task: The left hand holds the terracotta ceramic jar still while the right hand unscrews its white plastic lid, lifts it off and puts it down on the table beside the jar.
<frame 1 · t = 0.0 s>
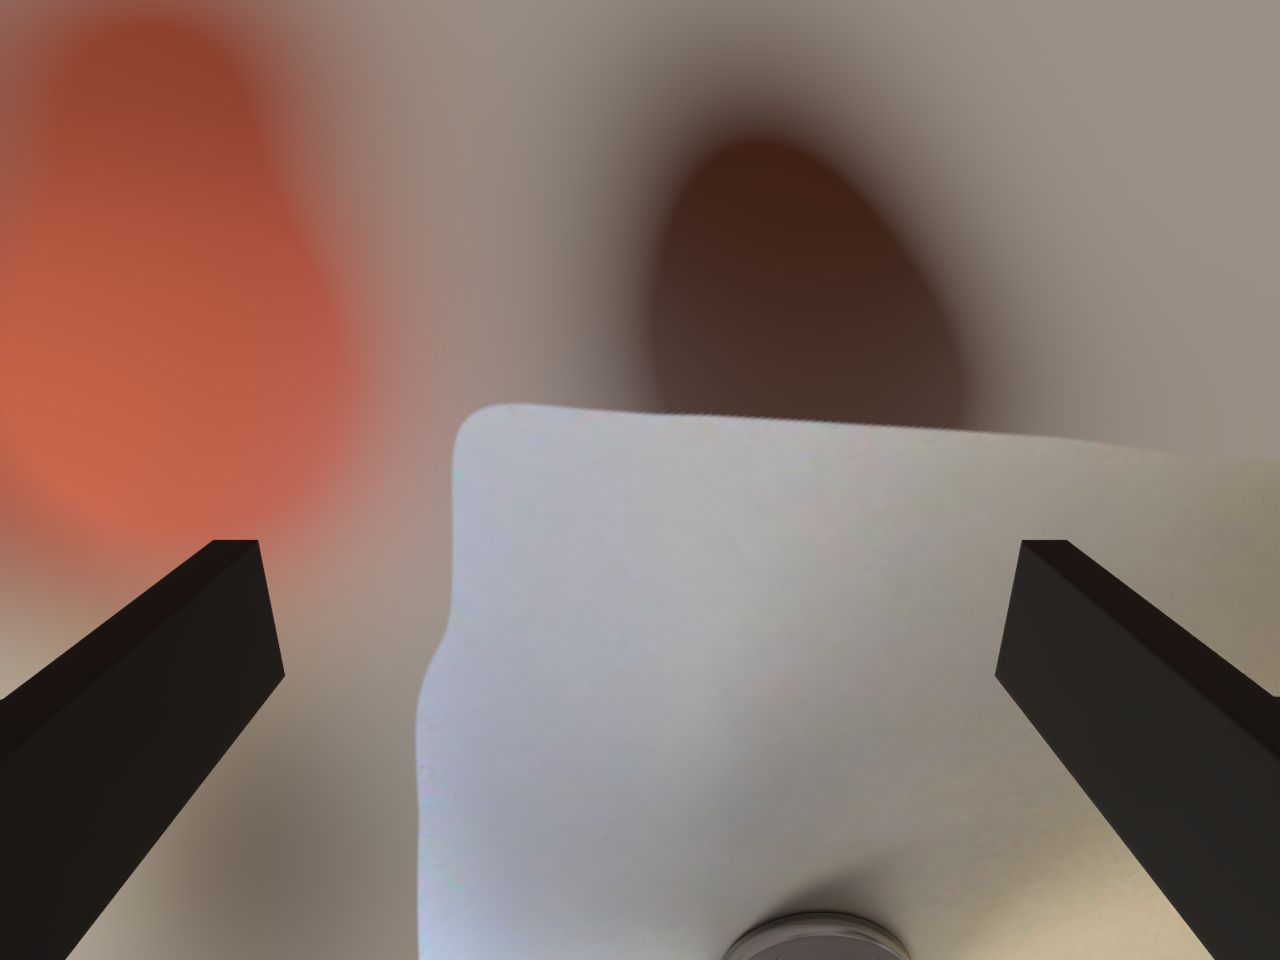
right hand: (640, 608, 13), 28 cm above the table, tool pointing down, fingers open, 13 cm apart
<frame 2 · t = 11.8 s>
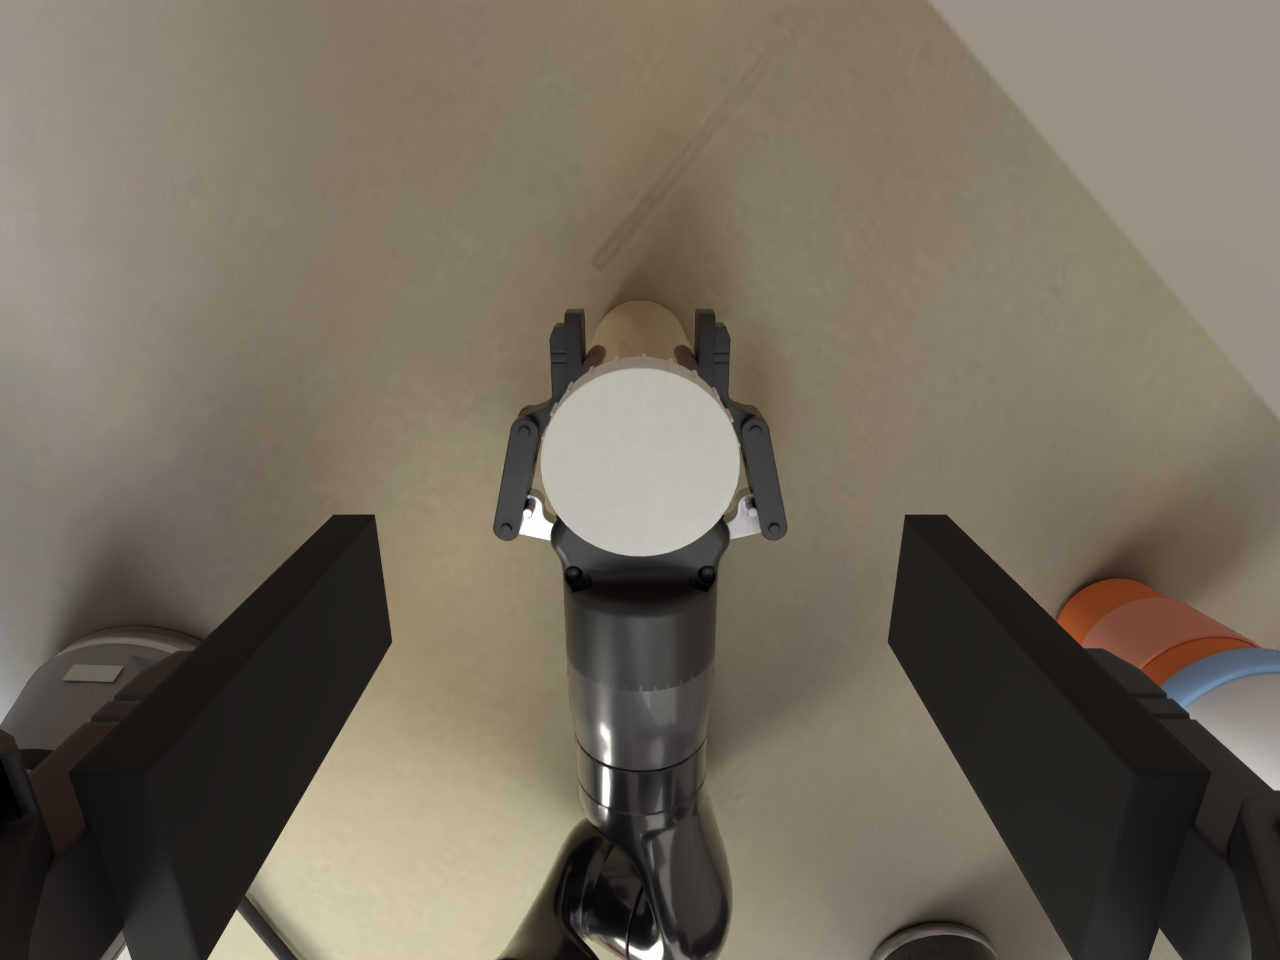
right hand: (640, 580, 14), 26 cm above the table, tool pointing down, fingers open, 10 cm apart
left hand: (639, 312, 31), fingers closed on jar, 5 cm apart
cup with straw: (1103, 620, 43), on the table
jar: (640, 348, 38), on the table, touching left hand
lid: (640, 462, 20), point 19 cm above the table, screwed on, not yet turned
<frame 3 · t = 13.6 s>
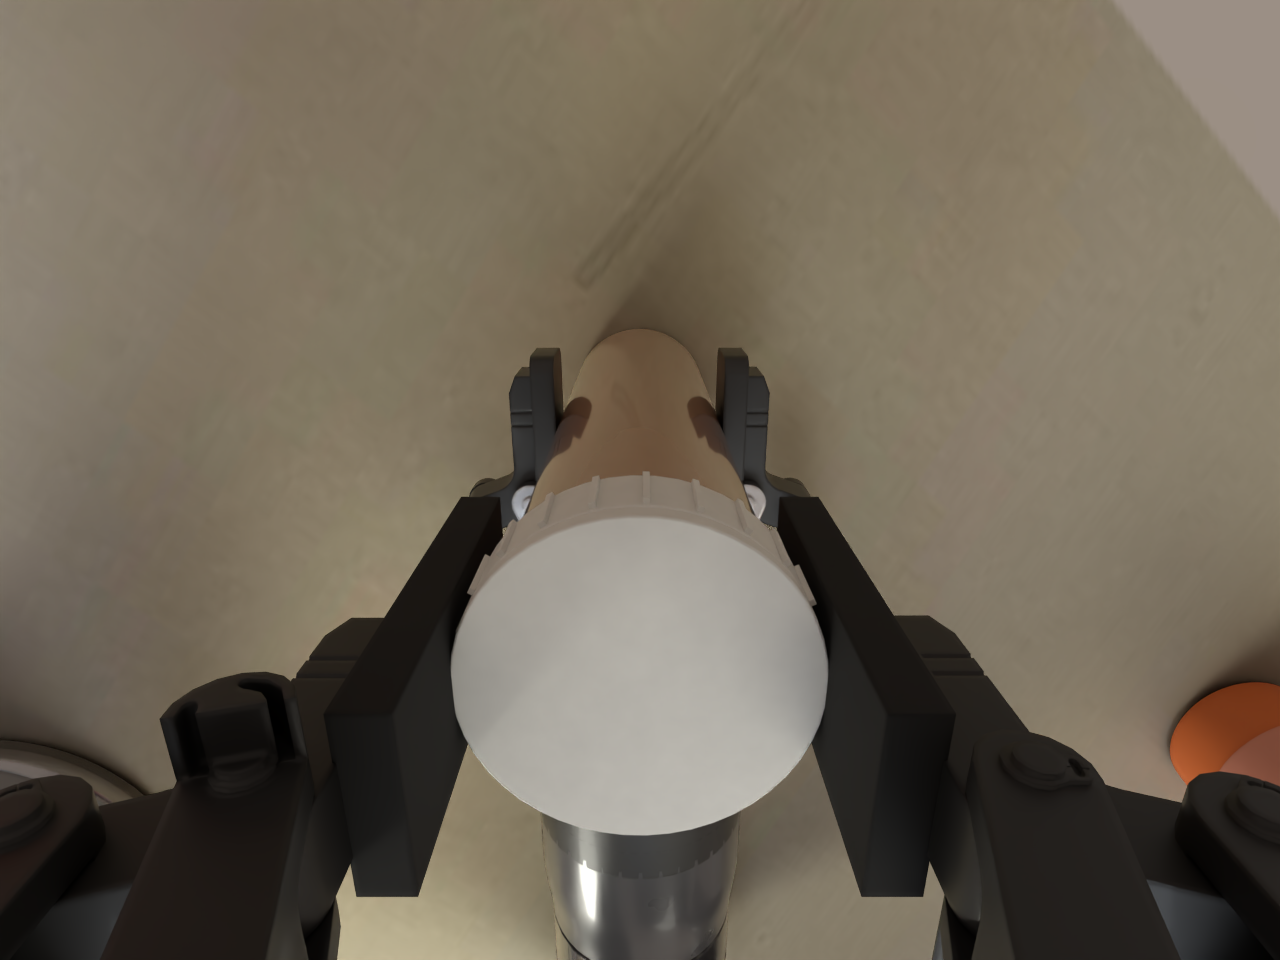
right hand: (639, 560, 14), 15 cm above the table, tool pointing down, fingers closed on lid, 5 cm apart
cup with straw: (1231, 732, 34), on the table
jar: (639, 391, 28), on the table, touching left hand
lid: (639, 676, 11), point 19 cm above the table, screwed on, not yet turned, touching right hand
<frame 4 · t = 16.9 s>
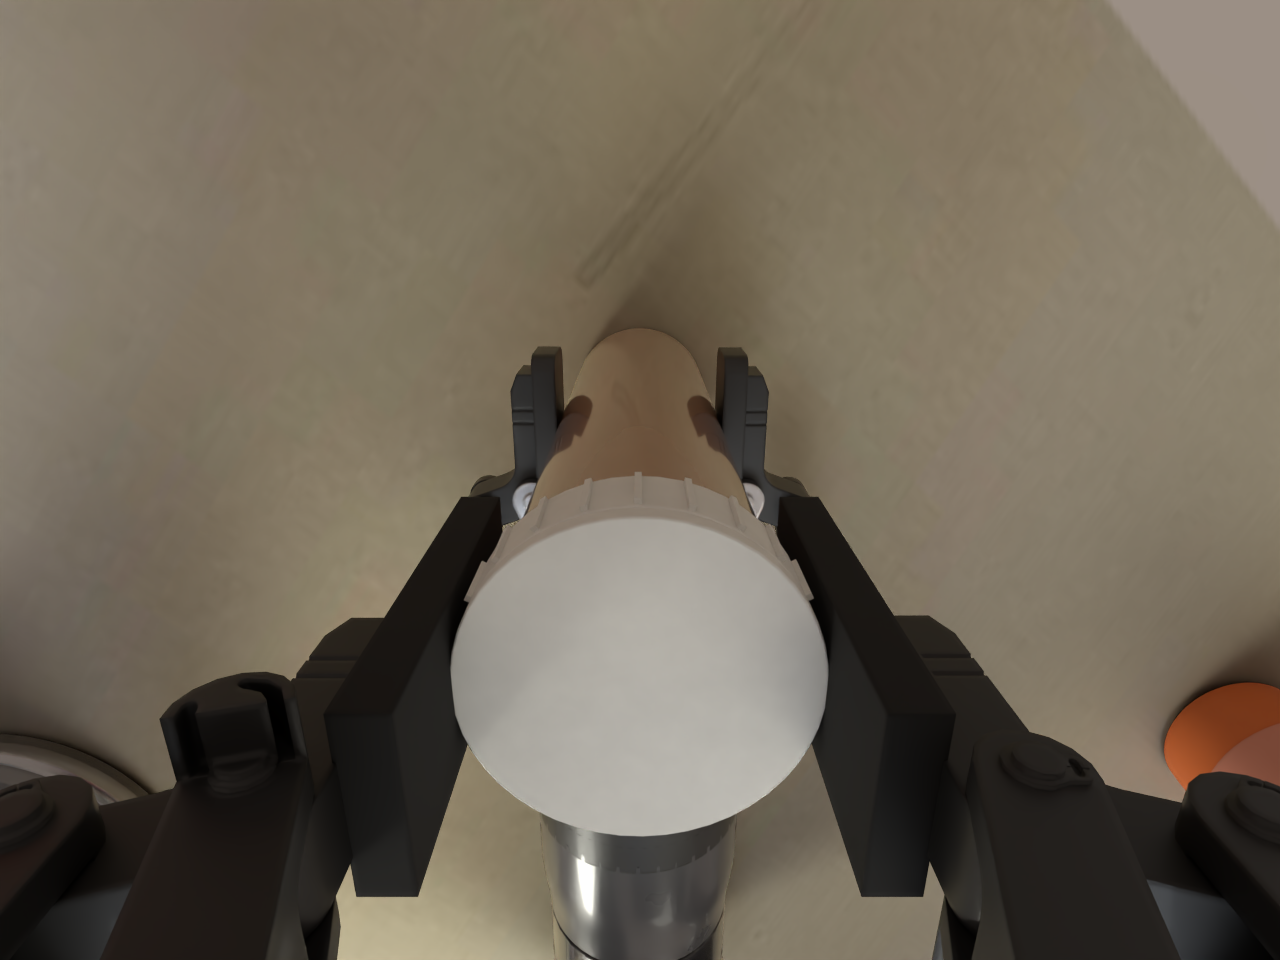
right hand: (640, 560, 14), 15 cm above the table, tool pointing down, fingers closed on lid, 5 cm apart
cup with straw: (1225, 732, 34), on the table
jar: (639, 390, 29), on the table, touching left hand
lid: (639, 677, 11), point 19 cm above the table, turned 97° so far, risen 0.2 cm, still on its thread, touching right hand
when the right hand's fingers open (0 cm above the table, at t = 23.2 s): lid drops 3 cm, point 1 cm above the table.
when the left hand's fingers open (6 cm above the table, at t = 23.9 s): jar stays where it is, on the table.
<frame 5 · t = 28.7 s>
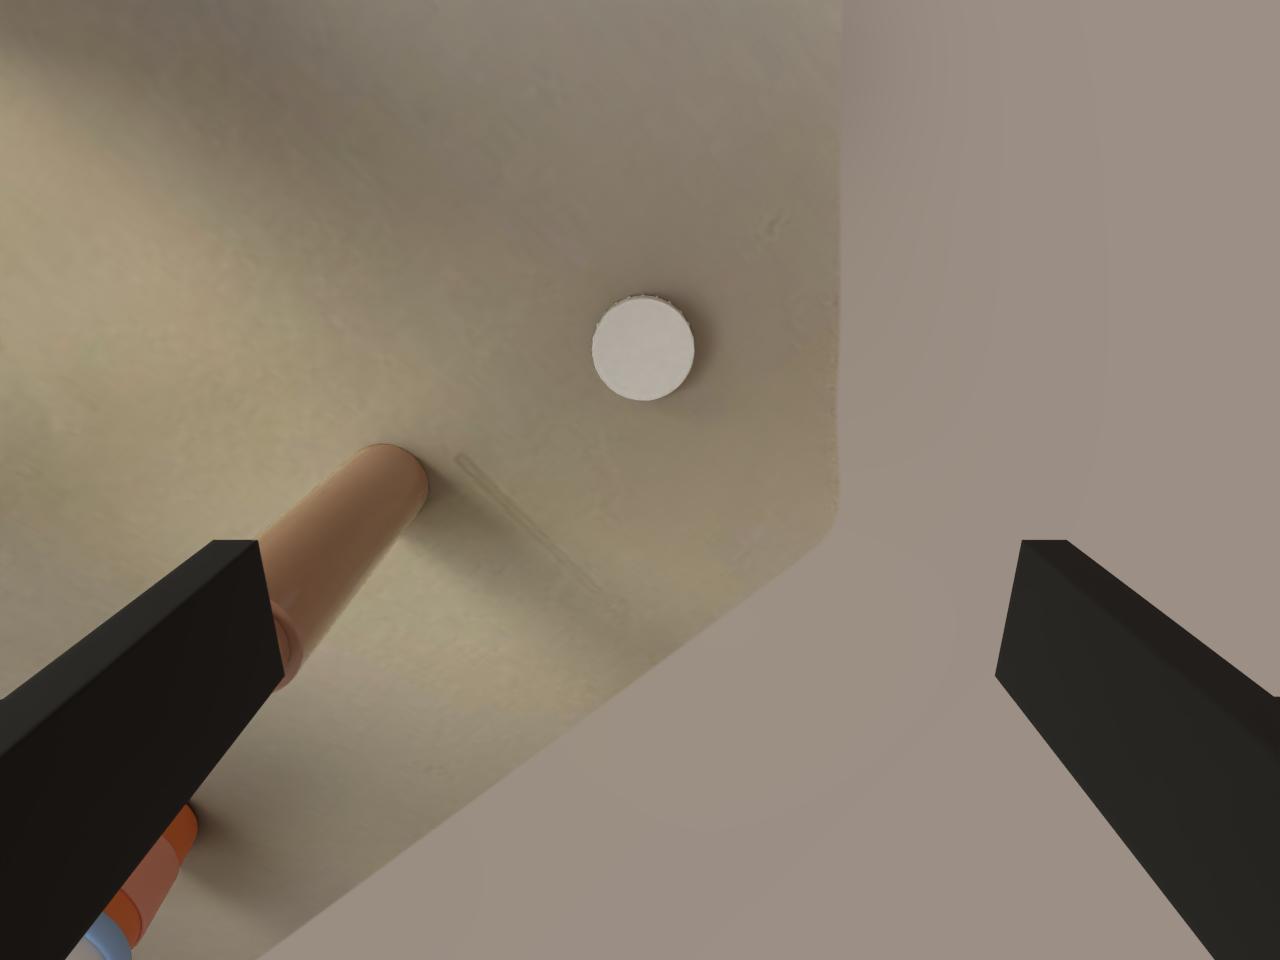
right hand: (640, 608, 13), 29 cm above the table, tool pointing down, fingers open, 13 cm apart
cup with straw: (157, 817, 52), on the table
jar: (387, 483, 43), on the table
lid: (643, 349, 39), point 1 cm above the table, off its thread
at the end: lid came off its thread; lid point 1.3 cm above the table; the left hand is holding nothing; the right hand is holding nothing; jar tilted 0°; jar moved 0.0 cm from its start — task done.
